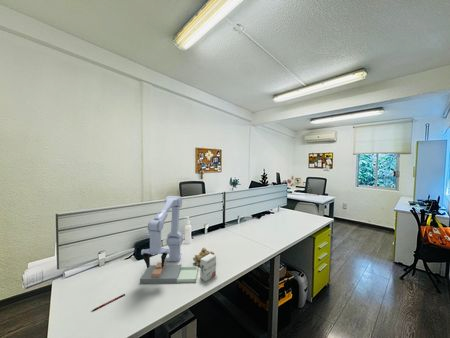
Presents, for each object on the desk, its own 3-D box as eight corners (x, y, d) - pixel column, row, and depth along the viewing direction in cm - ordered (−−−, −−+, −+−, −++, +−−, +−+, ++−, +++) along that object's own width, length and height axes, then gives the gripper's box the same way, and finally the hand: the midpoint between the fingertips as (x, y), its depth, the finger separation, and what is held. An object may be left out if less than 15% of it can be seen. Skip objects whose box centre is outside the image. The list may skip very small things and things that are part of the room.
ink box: (210, 271, 108) (210, 252, 108) (216, 274, 105) (216, 255, 105) (199, 278, 102) (199, 258, 101) (205, 282, 99) (205, 261, 98)
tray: (181, 269, 110) (181, 266, 110) (198, 269, 110) (198, 266, 110) (176, 282, 98) (176, 279, 98) (195, 282, 98) (195, 278, 98)
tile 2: (154, 272, 102) (154, 269, 102) (162, 272, 103) (162, 268, 103) (151, 277, 98) (151, 273, 98) (159, 277, 98) (159, 273, 98)
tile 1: (157, 265, 109) (157, 262, 109) (165, 265, 109) (165, 262, 109) (155, 270, 104) (155, 267, 104) (163, 270, 105) (163, 266, 105)
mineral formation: (203, 255, 127) (221, 259, 119) (191, 267, 116) (210, 273, 108) (202, 244, 126) (219, 249, 118) (189, 256, 115) (208, 261, 107)
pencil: (90, 312, 78) (90, 310, 78) (124, 295, 89) (124, 293, 88) (90, 313, 78) (90, 311, 78) (125, 296, 88) (125, 294, 88)
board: (148, 269, 109) (148, 265, 109) (181, 268, 111) (181, 264, 110) (139, 283, 97) (139, 279, 96) (176, 282, 98) (176, 278, 98)
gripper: (138, 245, 91) (138, 271, 91) (167, 245, 92) (167, 270, 92) (144, 239, 98) (144, 263, 99) (170, 239, 99) (170, 263, 100)
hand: (155, 266), depth 96 cm, fingers open, 7 cm apart
